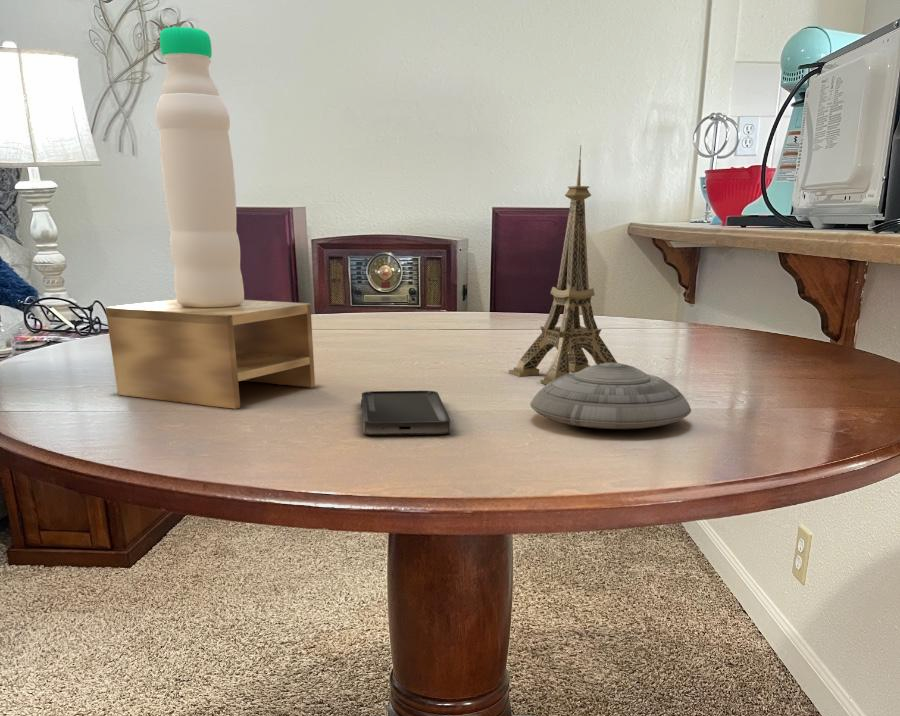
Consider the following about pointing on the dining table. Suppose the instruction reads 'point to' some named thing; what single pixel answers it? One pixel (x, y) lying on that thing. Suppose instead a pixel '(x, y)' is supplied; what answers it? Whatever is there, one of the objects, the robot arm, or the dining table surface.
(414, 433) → the phone
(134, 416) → the dining table surface
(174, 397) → the rack
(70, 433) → the dining table surface
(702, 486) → the dining table surface
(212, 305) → the water bottle
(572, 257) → the eiffel tower
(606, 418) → the flying saucer
